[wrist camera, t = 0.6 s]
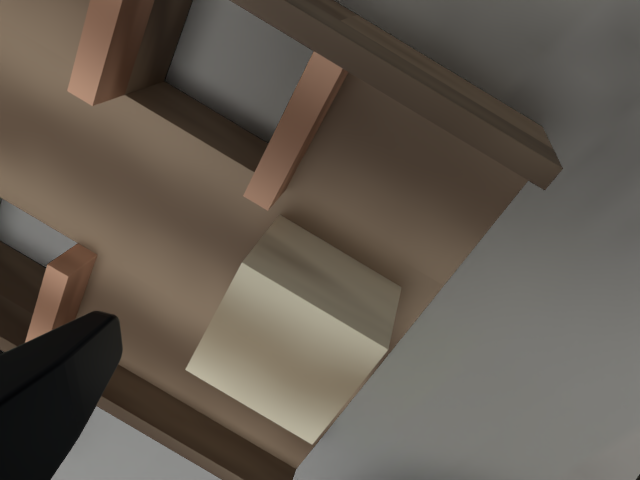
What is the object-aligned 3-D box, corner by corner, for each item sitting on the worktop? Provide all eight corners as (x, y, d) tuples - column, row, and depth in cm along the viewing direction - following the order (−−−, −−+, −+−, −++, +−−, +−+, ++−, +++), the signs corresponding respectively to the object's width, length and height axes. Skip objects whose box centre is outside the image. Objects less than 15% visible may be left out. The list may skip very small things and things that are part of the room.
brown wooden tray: (305, 433, 30) (270, 530, 25) (-137, 172, 29) (-268, 215, 24) (542, 126, 20) (568, 179, 15) (-115, -271, 20) (-328, -362, 14)
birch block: (335, 375, 24) (312, 444, 20) (227, 311, 24) (185, 369, 20) (401, 287, 21) (388, 349, 17) (279, 214, 21) (241, 262, 17)
